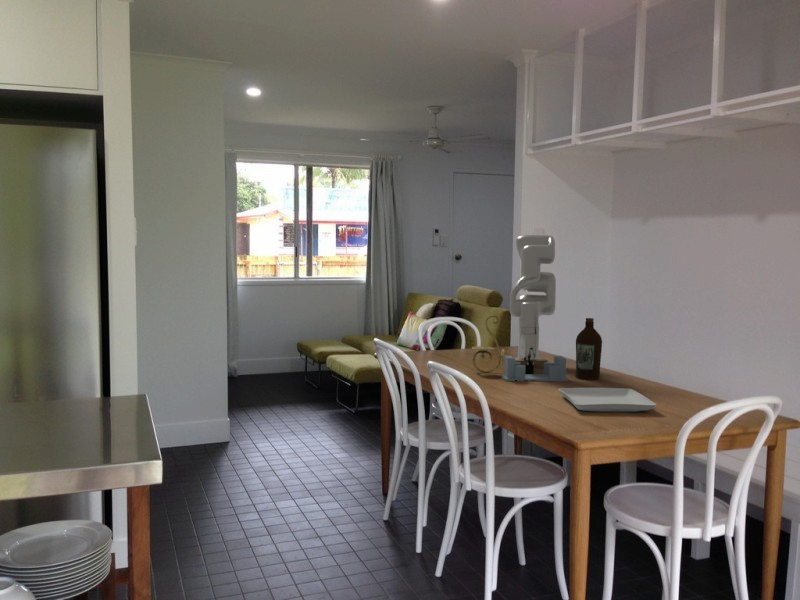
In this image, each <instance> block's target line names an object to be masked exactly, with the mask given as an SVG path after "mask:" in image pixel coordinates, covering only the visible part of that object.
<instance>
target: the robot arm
mask: <svg viewBox="0 0 800 600" xmlns="http://www.w3.org/2000/svg"><path fill="white" fill-rule="evenodd" d="M515 242H516V243H515V244H516V250H517V253H518V256H519V259H520V265H521V266H520V278H519V279H518V280H517V281H516V283H514V285H513V286H512V289H511V290H510V295H509V313H510V315H511V316H512V317H516V318H518V345H517V346H518V347H517V349H518V351H517V356H516V357H514V358H515V360H519V359H527V365H526V374H533V370H534V359H542V358H541V357H539V351H540V350H539V345H540V323H539V317H542V316H552V315H554V314H555V311H556V293H557V292H556V285H557V284H556V281H557V280H556V276H555V274H554V273H553V272H550V271H541V265H546V264H553V262H554V261H555V258H556V242H555V238H554V236H552V235H548V234H547V235H546V234H545V235H543V234H542V235H541V234H524V235H519V236H518V237H517V238H516V241H515ZM521 290H522V291H524V292H528V293H529V292H530V293H544V294H522V295H520V296H519V297H518V298H517V295H518V293H519V291H521ZM528 359H529V361H528Z"/></svg>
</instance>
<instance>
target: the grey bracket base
mask: <svg viewBox="0 0 800 600" xmlns="http://www.w3.org/2000/svg"><path fill="white" fill-rule="evenodd" d="M515 358H516V357H514V356H512V355H505V356H504V365H503V373H501V374H500V377H501V378H502V380H504V379H505V380H506V381H505V380H504V381H505V382H525V381H524V380H528V381H527V382H532V381H531V380H535V381H534V382H570V378H568V377H567V376H566V375H567V373H566V371H567V358H566V357H564V356H562V355H554V356H553V362H548V363H544V374H525V366H521V363H515ZM515 380H517V381H515Z"/></svg>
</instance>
